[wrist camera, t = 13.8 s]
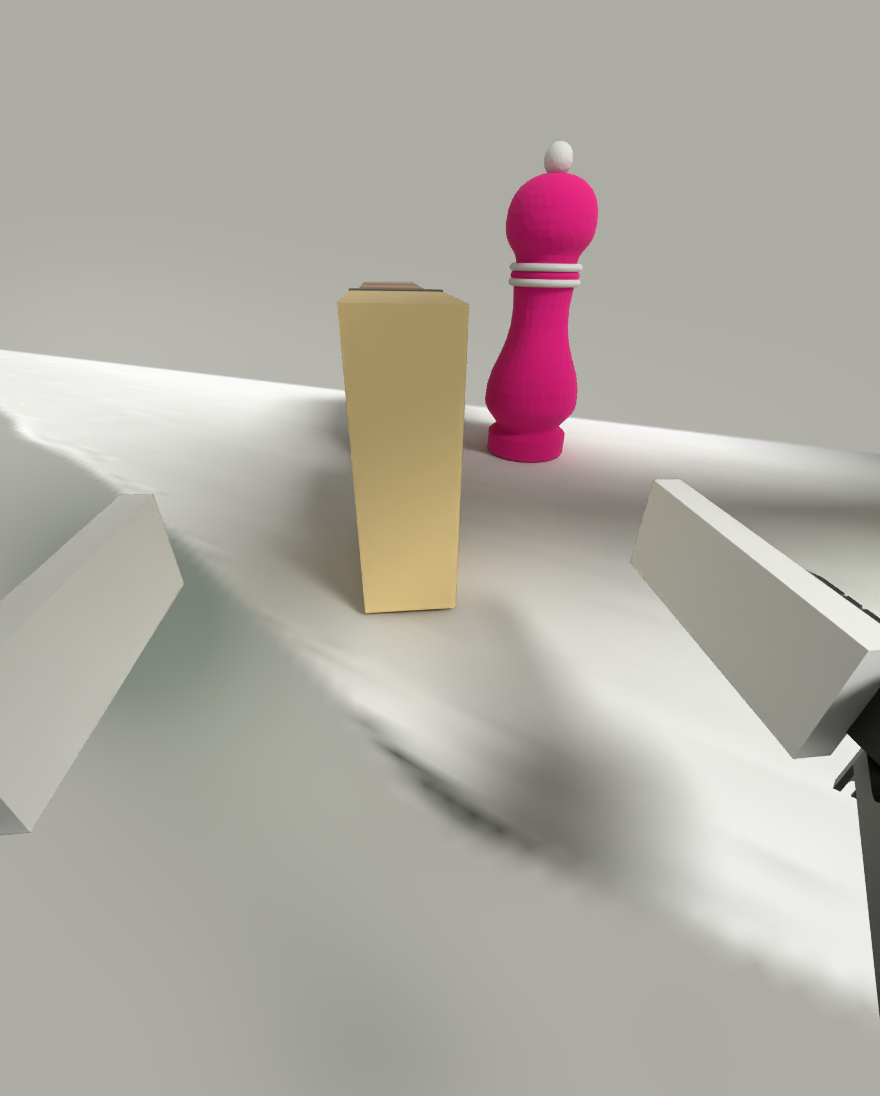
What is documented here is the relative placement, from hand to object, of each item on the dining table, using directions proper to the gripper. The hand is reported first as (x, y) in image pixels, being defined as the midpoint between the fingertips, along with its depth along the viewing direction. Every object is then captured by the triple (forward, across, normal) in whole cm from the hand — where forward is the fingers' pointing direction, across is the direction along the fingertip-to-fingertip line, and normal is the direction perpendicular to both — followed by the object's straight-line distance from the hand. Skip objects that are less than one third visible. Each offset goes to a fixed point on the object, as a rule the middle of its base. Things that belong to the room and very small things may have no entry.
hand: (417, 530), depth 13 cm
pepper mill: (+26, +11, -7) cm, 29 cm away
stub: (+9, 0, -7) cm, 11 cm away
